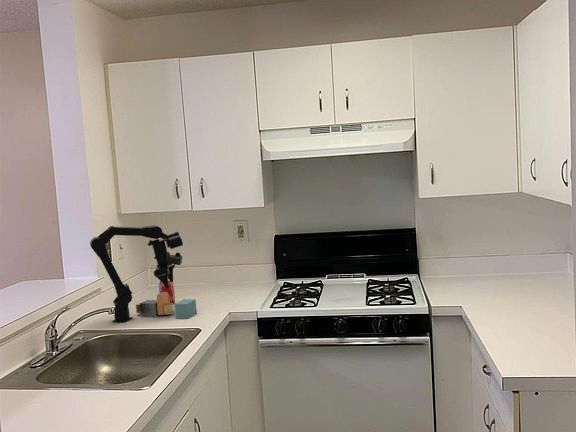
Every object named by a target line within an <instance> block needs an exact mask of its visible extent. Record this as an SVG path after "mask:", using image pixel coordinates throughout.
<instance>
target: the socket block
mask: <svg viewBox="0 0 576 432" xmlns="http://www.w3.org/2000/svg"><path fill="white" fill-rule="evenodd" d="M174 312H175V313H174V315H175V319H185V320H186V319H187V320H189V318H192V317H194V315H197V314H198V313H197V301H196V299H193V298H192V299H191V298H190V299H189V298H188V299H186V298H183V299H181V300H180V301H177V302H174Z"/></svg>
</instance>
